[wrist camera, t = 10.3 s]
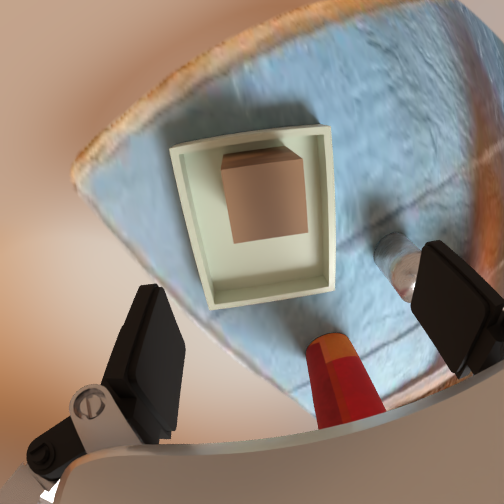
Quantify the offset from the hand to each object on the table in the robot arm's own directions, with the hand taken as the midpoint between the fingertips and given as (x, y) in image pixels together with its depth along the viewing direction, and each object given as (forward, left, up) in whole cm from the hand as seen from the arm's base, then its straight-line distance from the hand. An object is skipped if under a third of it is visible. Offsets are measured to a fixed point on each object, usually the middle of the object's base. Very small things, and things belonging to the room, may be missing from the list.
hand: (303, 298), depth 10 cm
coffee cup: (-6, +22, -16) cm, 28 cm away
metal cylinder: (-13, +9, -16) cm, 23 cm away
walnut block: (0, 0, -16) cm, 16 cm away
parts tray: (0, +3, -16) cm, 16 cm away
